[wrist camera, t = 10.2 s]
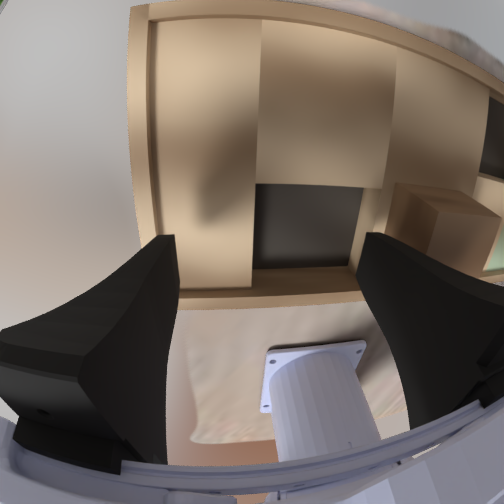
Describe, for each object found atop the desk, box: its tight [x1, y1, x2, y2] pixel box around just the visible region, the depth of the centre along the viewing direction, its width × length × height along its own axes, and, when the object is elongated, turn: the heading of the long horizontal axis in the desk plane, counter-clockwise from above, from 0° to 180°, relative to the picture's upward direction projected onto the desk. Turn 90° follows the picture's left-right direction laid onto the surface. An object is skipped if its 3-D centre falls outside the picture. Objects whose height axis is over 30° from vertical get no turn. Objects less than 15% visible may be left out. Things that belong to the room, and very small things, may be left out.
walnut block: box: [384, 182, 502, 279], centre depth 12 cm, size 5×5×4 cm
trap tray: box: [127, 0, 504, 310], centre depth 13 cm, size 14×28×3 cm, turn 88°
